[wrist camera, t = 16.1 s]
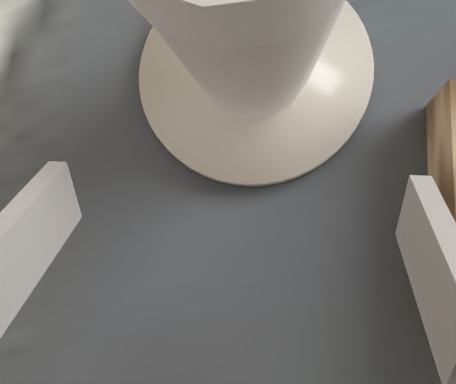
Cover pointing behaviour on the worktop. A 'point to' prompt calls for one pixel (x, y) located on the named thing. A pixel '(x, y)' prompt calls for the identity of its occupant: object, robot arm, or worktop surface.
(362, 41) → the disc
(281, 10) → the foam cup
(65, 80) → the worktop surface
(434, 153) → the holder
